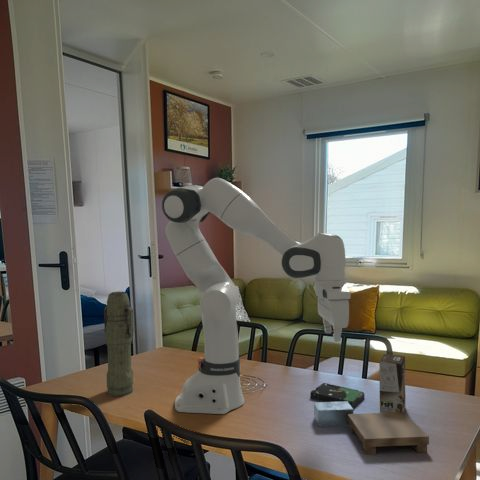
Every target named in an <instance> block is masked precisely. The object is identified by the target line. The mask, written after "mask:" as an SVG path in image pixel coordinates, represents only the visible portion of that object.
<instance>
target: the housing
mask: <svg viewBox="0 0 480 480" xmlns="http://www.w3.org/2000/svg"><path fill="white" fill-rule="evenodd" d="M348 414H354V408H352V407H351V405H350V404H349V403H348V401H342V402H323V401H319V402H313V418H314V421H315V423H316V426H317V427H318V428H336V427H337V428H339V427H340V428H341V427H342V428H343V427H344V428H345V427H349V422H348Z"/></svg>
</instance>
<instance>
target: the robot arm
mask: <svg viewBox="0 0 480 480" xmlns="http://www.w3.org/2000/svg"><path fill="white" fill-rule="evenodd" d="M248 195H249V194H246V193H245V192H244V191H243V190H242V189H240V188H238V186H235V185H234V184H232V183H231V182H229V181H227V180H226V179H224V178H221V177H214V178H211V179H209V180H207V182H206V183H205V184H204V185H203V184H190V185H189V184H188V185H184V186H181V187H176V188H173V189H171V190H170V191H169V190H168V192H167V193H165V195H164V196H163V198H162V200H161V210H162V213H163V214H164V216H165V217H166V219H168V220H169V222H168V223H167V224H166V226H165V235H166V238H167V241H168V243H169V246H170V248H171V249H172V251H173V254H174V255H175V257H176V259H177V262H178V263H179V264H180V266H181V268H182V269H183V271H184V273H185V275H186V276H187V278H188V279H189V281H191V282H192V283H193V284H194V285H195V287H196V288H197V290H198V291H199V292H200V293H201V296H200V300H199V307H200V316H201V323H202V329H203V338H204V341H203V342H204V345H203V346H204V357H202V356H200V357H198V359H197V363H198V370H197V371H196V372H195V373H194V374H193V375H191V376H190V377H188V378H187V379H186V380H185V382H184V383H183V386H182V389H181V393H179V394H178V395H177V396H176V398H175V401H174V409H175V410H176V412H179V413H191V414H192V413H193V414H213V415H216V414H217V415H225V414H227V413H228V412H230V411H232V410H236V409H238V408H241V406H243V405H244V403H245V398H244V395H243V391H242V386H241V379H240V376H241V370H242V368H241V358H240V357H239V355H240V354H239V332H238V324H237V305H238V304H239V301H240V292H239V290H238V288H237V285H235V283H234V281H233V280H232V279H231V277H230V275H228V273H227V271H226V270H225V268H224V267H223V266H222V265H221V264H220V262H219V261H218V259H217V257H216V256H215V254H214V252H213V250H212V249H211V247H210V244H209V243H208V241H207V240H206V238H205V237H204V235H203V234H202V232H201V230H200V223H203V222H204V221H205V220H206V218H207V217H208V216H209V215H210V214H212V215H214V216H215V217H217V218H218V219H219V220H220V221H221V222H222V223H223V224H225V225H226V226H228V227H229V228H231V229H233V230H234V231H236V232H238V233H239V234H243V235H248V236H253V237H255V238H256V239H257V238H258V239H260V240H261V241H263V242H265V243H266V244H267V245H269V246H270V247H271V248H272V249H274V250H275V251H276V252H278V254H280V255H281V256H282V257H281V267H282V270H283V271H284V273H285V274H286V275H288V276H289V277H290V278H294V279H297V280H298V279H300V280H301V279H305V278H307V277H312V276H313V277H314V285H315V286H314V287H315V289H314V291H315V292H314V293H315V294H314V295H315V296H316V297H317V314H318V315H319V316H320V317H321V318H322V322H323V327H324V332H325V334H331V333H332V332H333V334H332V339H333V341H334V342H335V343H336V342H338V343H340V342H341V341H342V332H343V329H346V328H348V326H349V322H350V302H349V300H350V299H351V297H352V296H351V295H352V294H351V291H350V289H349V288H348V284H347V276H346V272H345V269H346V263H347V262H346V250H345V249H346V248H345V243H344V240H343V239H342V238H341V236H339V235H337V234H331V233H326V232H325V233H324V232H318V233H316V234H315V235H314V236H312V237H311V238H310V239H307V240H305V241H304V242H300V241H298V240H296V239H295V238H293V237H292V236H291V235H290V234H288V233H287V232H286V231H284V230H283V229H282V228H280V227H279V226H278V225H276V224H275V223H274V222H273V221H272V220H271V219H270V218H269V216H267V214H265V212H264V211H263V210H262V209H261V207H260V206H259V205H258V204H257V203H256V202H255V200H253V199H252V198H251V197H250V196H248ZM332 328H333V329H332ZM332 330H333V331H332Z"/></svg>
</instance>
